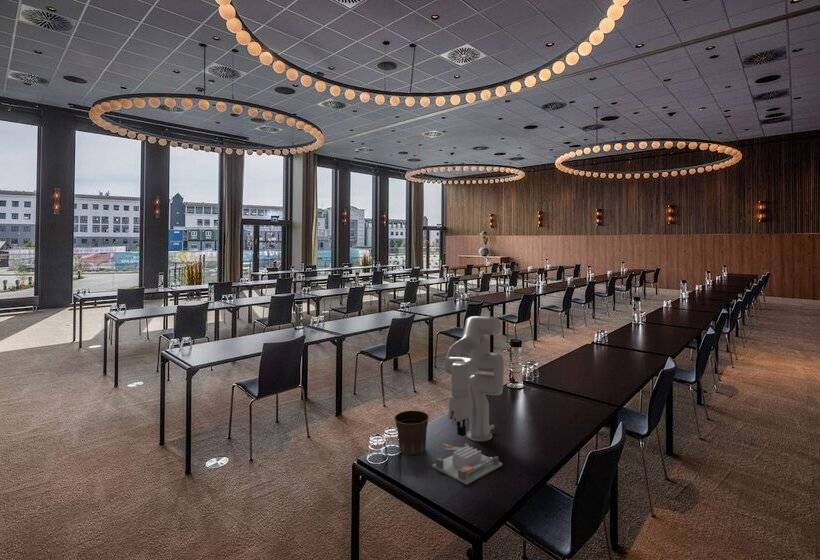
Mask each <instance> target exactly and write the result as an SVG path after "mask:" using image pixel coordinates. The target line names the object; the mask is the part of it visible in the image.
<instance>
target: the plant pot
mask: <svg viewBox="0 0 820 560" xmlns="http://www.w3.org/2000/svg"><path fill="white" fill-rule="evenodd" d="M429 419H430V416H429V414H428V413H426V412H424V411H421V410H405V411H401V412H399V413H397V414H395V415H394V422H395V426H396V430H398V431H397V436H398V435H399V439H398V444H399V443H400V447H399V449H400V448H401V452H400V453H401V454H403V455H405V456H413V455H414V456H418V455H422V454H423V453H425V452H426V450H427V449H426V448H427V447H426V445H427V431H428V430H427V429H428V424H429V423H428V422H429Z"/></svg>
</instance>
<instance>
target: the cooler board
mask: <svg viewBox="0 0 820 560" xmlns="http://www.w3.org/2000/svg"><path fill="white" fill-rule="evenodd" d="M463 447H464V448H462V449H459V450H454V451H453V452H452V455H449V456H448V457H446V458H443V459H442V458H440V457H437V458H435V463H433V464H431V468H434V469H435V470H437V471H438V472H441V473H443V474H445V475H446V476H449V477H451V478H452V479H455V480H456V481H458V482H460V483H462V484H465V485H469V484H471V483H473V482H475V481H476V480H478V479H480V478H482V477H484V476H486V475H487V474H489V473H491V472H493V471H495V470H496V469H498V468H500V467H502V466H503V462H501V461H499V456H497V455H496V456H492V457H493V459H494V461H493V462H491V463H489V464H487V465H485V466H483V467H481V468H479V469H477V470H475V471H473V472H471V473H469V474H467V475H466V471H465V470H463V469H461V468H463V467H465V466H467V465H469V466H472V465H474V464H477V463H479V462H481V461H483V460H485V459H487V458H489V457H490V456H487V455H484V454H482V450H481V449H480V450H478V448H474V447H473V446H471V447H470V445H469V443H464V444H463Z"/></svg>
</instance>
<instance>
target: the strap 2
mask: <svg viewBox="0 0 820 560" xmlns="http://www.w3.org/2000/svg"><path fill="white" fill-rule="evenodd" d="M488 457H489V458H487V459H485V460H483V461H481V462H479V463H477V464H474V465H472V466H469V465H467V466H465V467H463V468H461V469H463V470H465V471H466V475H467V474H469V473H471V472H473V471H475V470H477V469H479V468H481V467H483V466H485V465H487V464H489V463H491V462H493V461H494V459H493V457H494V456H488Z"/></svg>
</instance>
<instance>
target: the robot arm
mask: <svg viewBox="0 0 820 560" xmlns="http://www.w3.org/2000/svg"><path fill="white" fill-rule="evenodd" d="M501 329H502V323H501V320H500V319H499V317H497V316H487V315H486V316H485V315H484V316H483V315H473V316H468V317H466V319H465V323H464V327H463V331H462V335H461V338H460V339H458V340H457V341H455V342H454V343H453V344H452V345H451V346H450V347H449V348H448V350H447V352H446V356H445V359H444V360H445V361H444V370H445V372H446V373H447V374H449V375H451V377H450V379H451V381H450V382H451V396H450V397H449V403H448V405H449V406H448V418H449V420H451V424H452V425H455V426H457V427H456V430H457V433H456V435H457V436H461V437H464V436H466V437H467V439H469V440H471V441H474V442H479V443H481V442H488V441H491V439H492V438H493V434H492V432H491V430H493V429H495V425H494V424H491V425H490V411H489V409H490V404H489V399H488V398H487V396H486V395H489V396H499V395H502V394H503V390H504V367H505V366H504V362H505V361H504V358H503V355H502V354H501V353H499V352H492V351H491V352H490V351H489V347H490V346H489V340H488V339H487V337H486V336H487V335H490V336H491V335H492V336H495V335H496V336H497V335H499V333H500V332H501ZM485 335H486V336H485ZM468 352H471V353H470V357H468V356H467V357H466V356H460V355H462V354H465V353H468ZM477 372H486V374H485V373H477ZM487 372H488V373H493V374H487ZM468 420H469V430H468V431H467V432H466V430H467V428H466V426H468V425H467V423H468Z"/></svg>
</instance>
